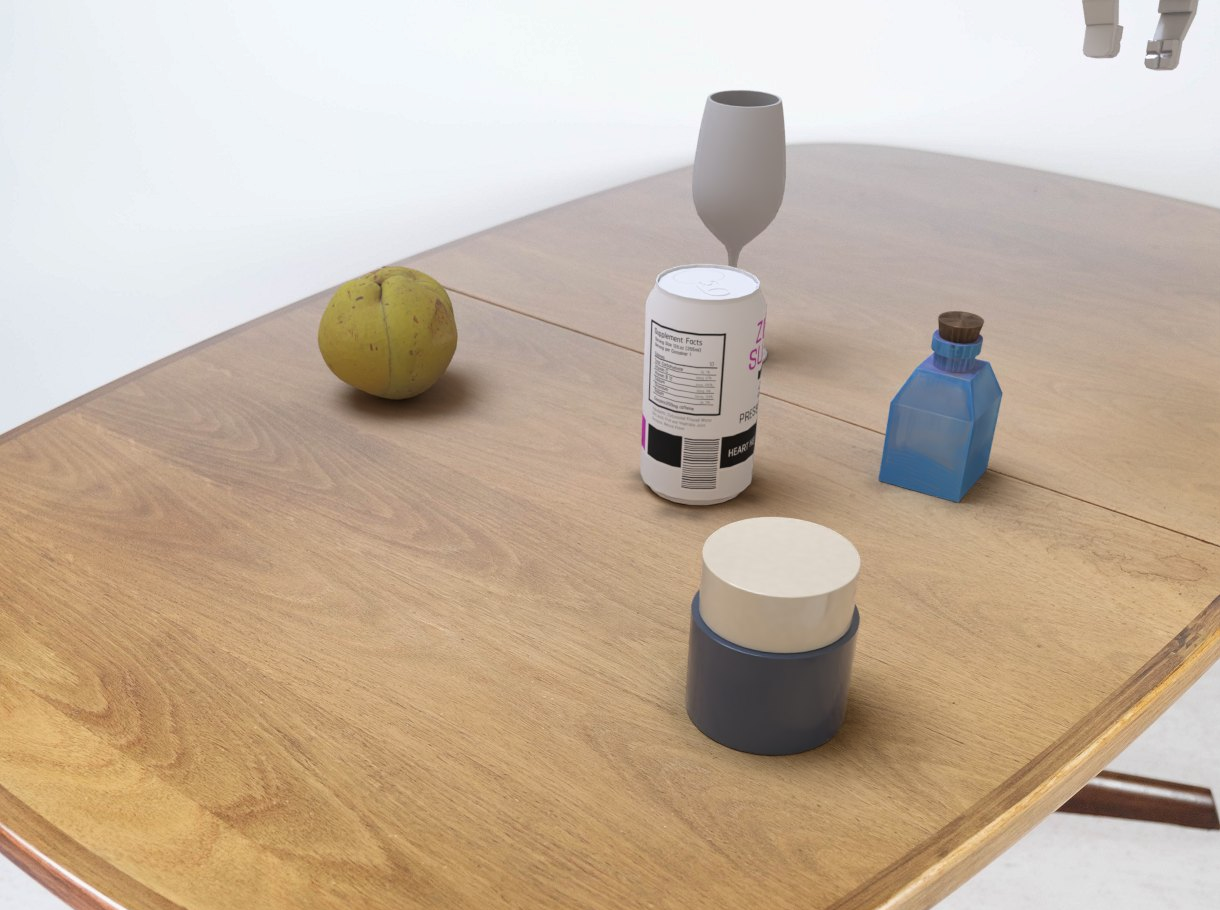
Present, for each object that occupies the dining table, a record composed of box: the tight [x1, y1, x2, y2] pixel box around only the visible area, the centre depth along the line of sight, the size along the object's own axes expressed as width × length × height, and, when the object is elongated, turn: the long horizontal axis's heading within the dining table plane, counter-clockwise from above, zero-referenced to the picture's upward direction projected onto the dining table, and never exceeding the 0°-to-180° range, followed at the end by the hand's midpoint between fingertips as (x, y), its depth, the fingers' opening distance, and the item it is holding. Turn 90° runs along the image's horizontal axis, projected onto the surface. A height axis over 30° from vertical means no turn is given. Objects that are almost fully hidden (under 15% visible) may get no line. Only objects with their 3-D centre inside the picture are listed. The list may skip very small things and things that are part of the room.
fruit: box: [317, 266, 459, 400], centre depth 107 cm, size 11×12×10 cm
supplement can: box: [640, 263, 768, 506], centre depth 94 cm, size 8×8×15 cm
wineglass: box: [691, 89, 787, 363], centre depth 112 cm, size 8×8×21 cm
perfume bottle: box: [878, 310, 1003, 503], centre depth 96 cm, size 6×6×12 cm
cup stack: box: [684, 516, 862, 756], centre depth 74 cm, size 9×9×10 cm
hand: (1131, 64), depth 86 cm, fingers open, 8 cm apart
